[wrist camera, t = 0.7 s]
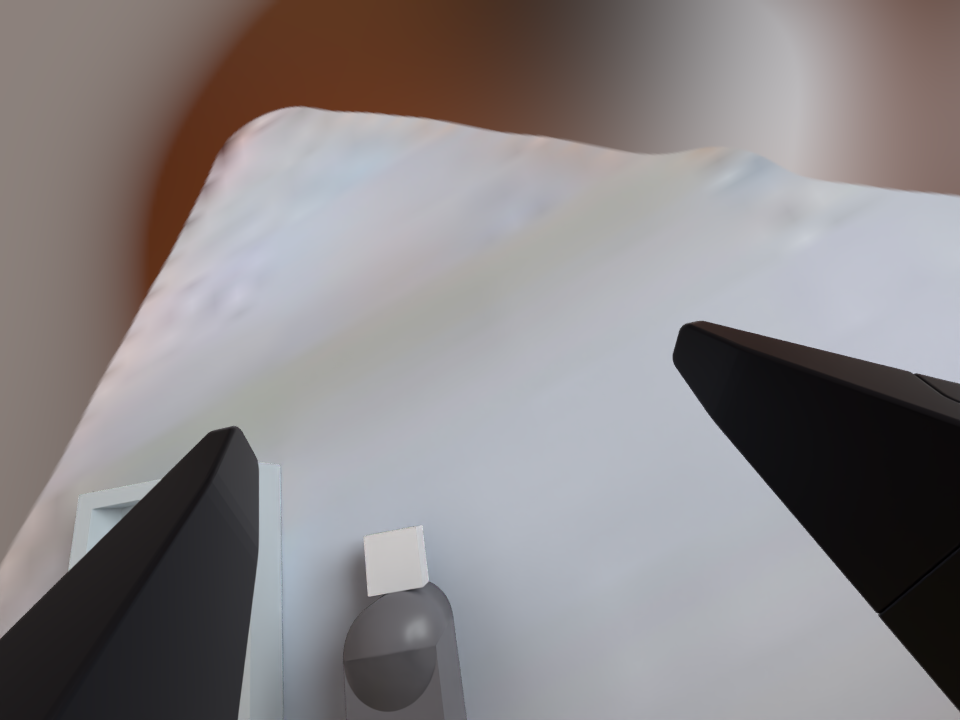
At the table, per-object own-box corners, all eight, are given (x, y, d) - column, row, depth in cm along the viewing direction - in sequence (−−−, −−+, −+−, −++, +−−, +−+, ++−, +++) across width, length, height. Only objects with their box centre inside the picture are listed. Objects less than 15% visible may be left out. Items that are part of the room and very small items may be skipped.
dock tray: (284, 823, 17) (248, 874, 15) (84, 854, 17) (19, 908, 15) (280, 464, 22) (252, 461, 20) (124, 494, 22) (79, 494, 20)
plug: (477, 801, 17) (464, 891, 13) (393, 814, 17) (356, 906, 13) (440, 520, 20) (421, 526, 17) (371, 533, 21) (336, 542, 17)
